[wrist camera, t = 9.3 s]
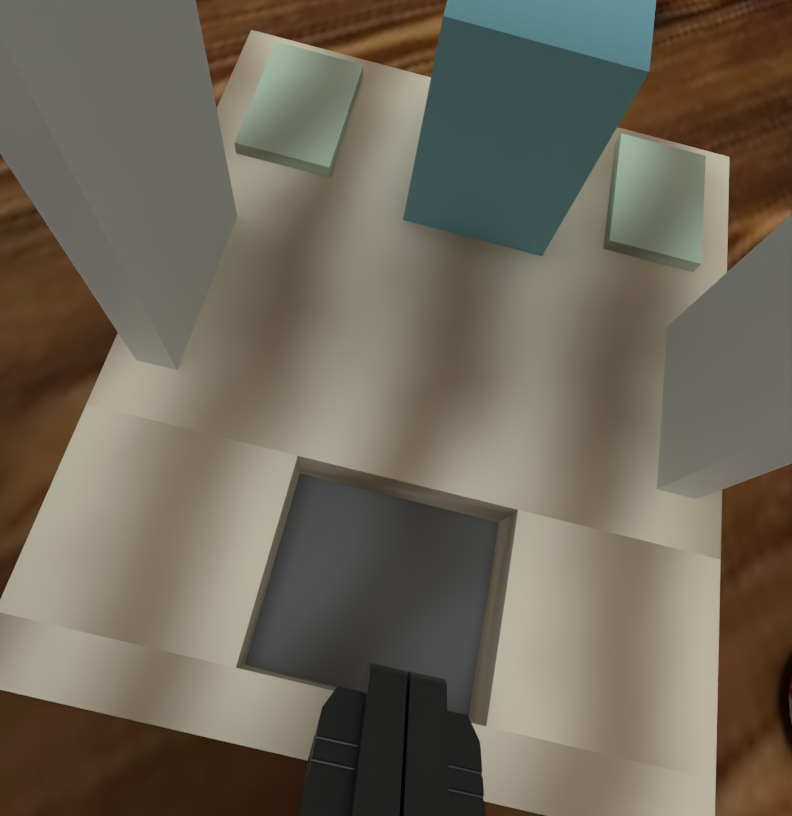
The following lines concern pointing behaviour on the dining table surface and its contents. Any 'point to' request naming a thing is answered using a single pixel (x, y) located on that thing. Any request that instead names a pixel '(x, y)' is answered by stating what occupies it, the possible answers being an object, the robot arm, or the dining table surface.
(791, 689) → the soda can
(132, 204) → the tunnel
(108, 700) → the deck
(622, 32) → the teal block
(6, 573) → the dining table surface
